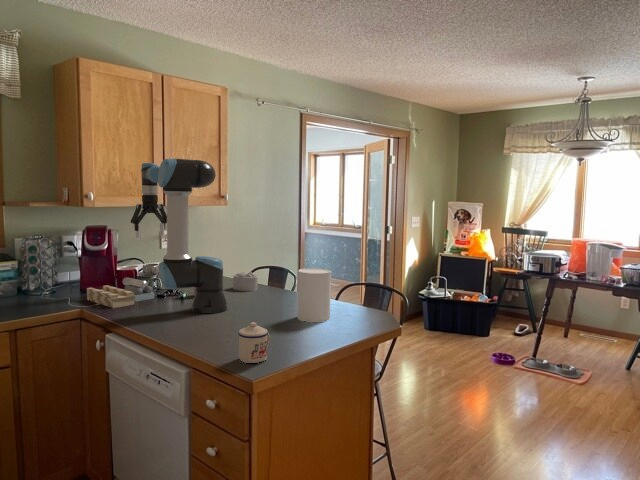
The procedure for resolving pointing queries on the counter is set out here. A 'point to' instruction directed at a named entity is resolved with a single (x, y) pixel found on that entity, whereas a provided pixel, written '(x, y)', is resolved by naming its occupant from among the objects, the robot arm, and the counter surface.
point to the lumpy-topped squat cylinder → (245, 282)
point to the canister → (314, 294)
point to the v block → (140, 293)
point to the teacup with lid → (253, 343)
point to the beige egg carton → (111, 296)
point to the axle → (135, 283)
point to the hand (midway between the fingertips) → (150, 236)
